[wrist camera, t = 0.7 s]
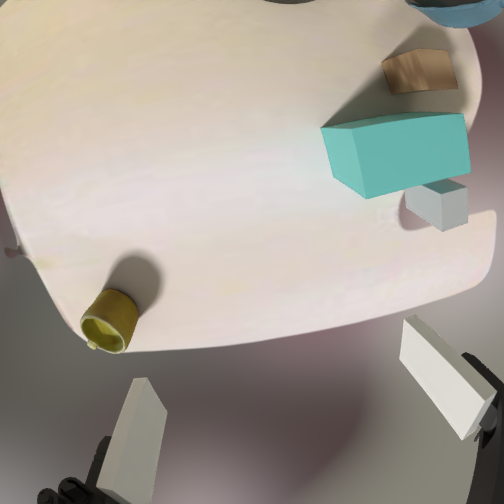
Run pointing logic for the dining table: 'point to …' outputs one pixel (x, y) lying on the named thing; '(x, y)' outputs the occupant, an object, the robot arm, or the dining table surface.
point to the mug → (110, 321)
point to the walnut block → (420, 71)
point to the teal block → (397, 151)
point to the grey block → (439, 203)
